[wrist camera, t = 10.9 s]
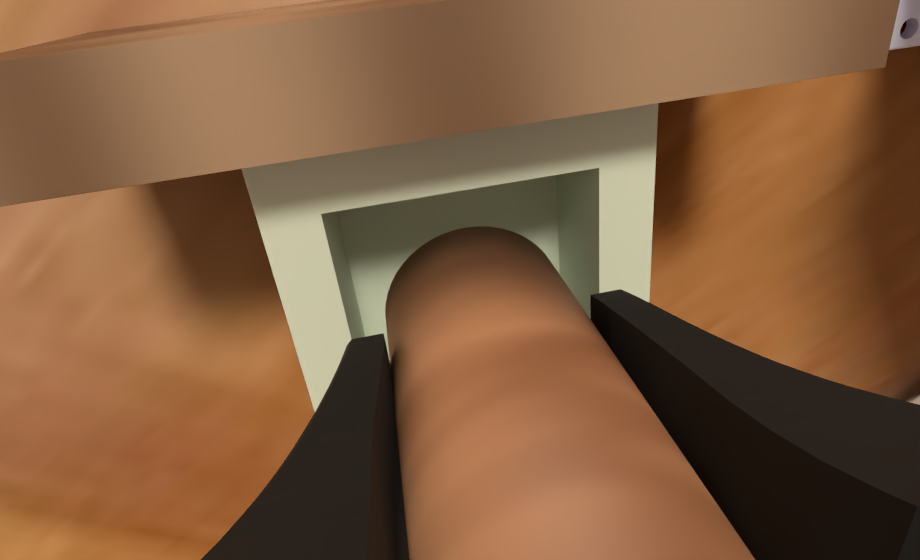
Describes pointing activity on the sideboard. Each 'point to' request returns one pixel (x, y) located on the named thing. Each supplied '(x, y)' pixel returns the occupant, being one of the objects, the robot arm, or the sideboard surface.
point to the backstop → (387, 78)
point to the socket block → (453, 217)
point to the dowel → (529, 420)
